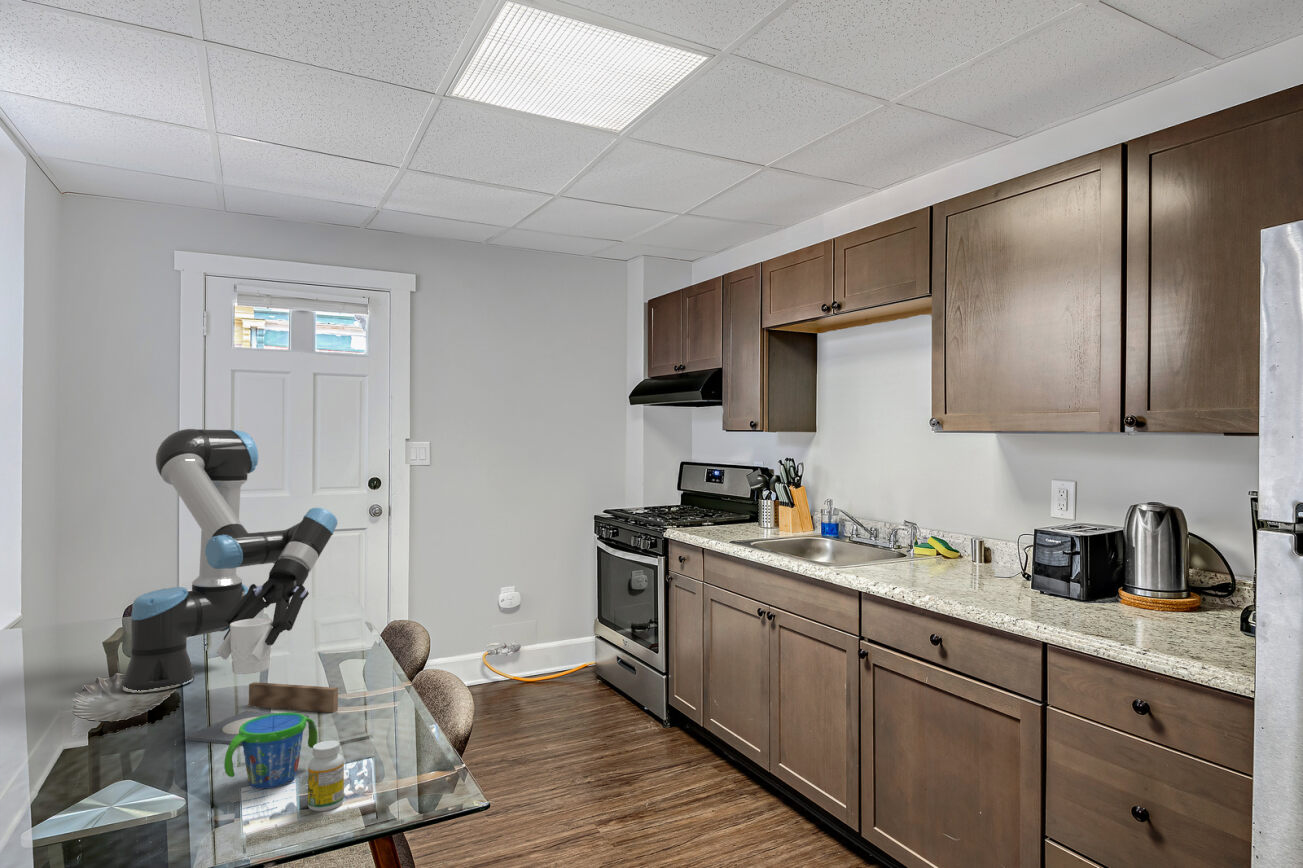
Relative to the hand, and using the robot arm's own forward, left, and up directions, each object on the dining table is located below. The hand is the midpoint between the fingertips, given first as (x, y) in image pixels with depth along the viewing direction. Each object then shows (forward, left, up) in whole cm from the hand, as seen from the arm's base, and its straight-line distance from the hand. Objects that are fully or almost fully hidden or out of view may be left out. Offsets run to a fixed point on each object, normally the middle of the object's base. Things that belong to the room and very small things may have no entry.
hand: (238, 656), depth 152 cm
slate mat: (0, +3, -16) cm, 16 cm away
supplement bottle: (+38, -24, -16) cm, 47 cm away
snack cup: (+23, -18, -16) cm, 33 cm away
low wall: (0, +16, -16) cm, 23 cm away
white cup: (0, +3, -4) cm, 5 cm away
